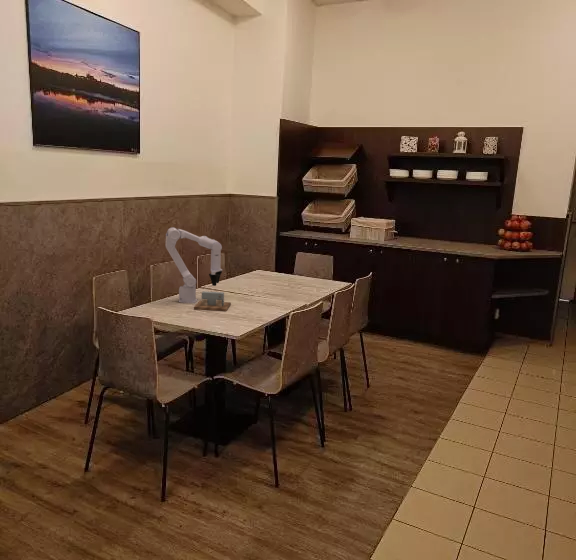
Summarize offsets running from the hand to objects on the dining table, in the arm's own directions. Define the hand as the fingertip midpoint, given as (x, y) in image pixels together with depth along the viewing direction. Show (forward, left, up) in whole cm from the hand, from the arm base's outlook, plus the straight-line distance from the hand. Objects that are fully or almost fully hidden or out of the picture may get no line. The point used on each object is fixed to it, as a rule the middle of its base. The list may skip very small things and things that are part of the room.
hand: (215, 284), depth 298 cm
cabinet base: (+2, -17, -9) cm, 20 cm away
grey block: (+2, -17, -8) cm, 19 cm away
